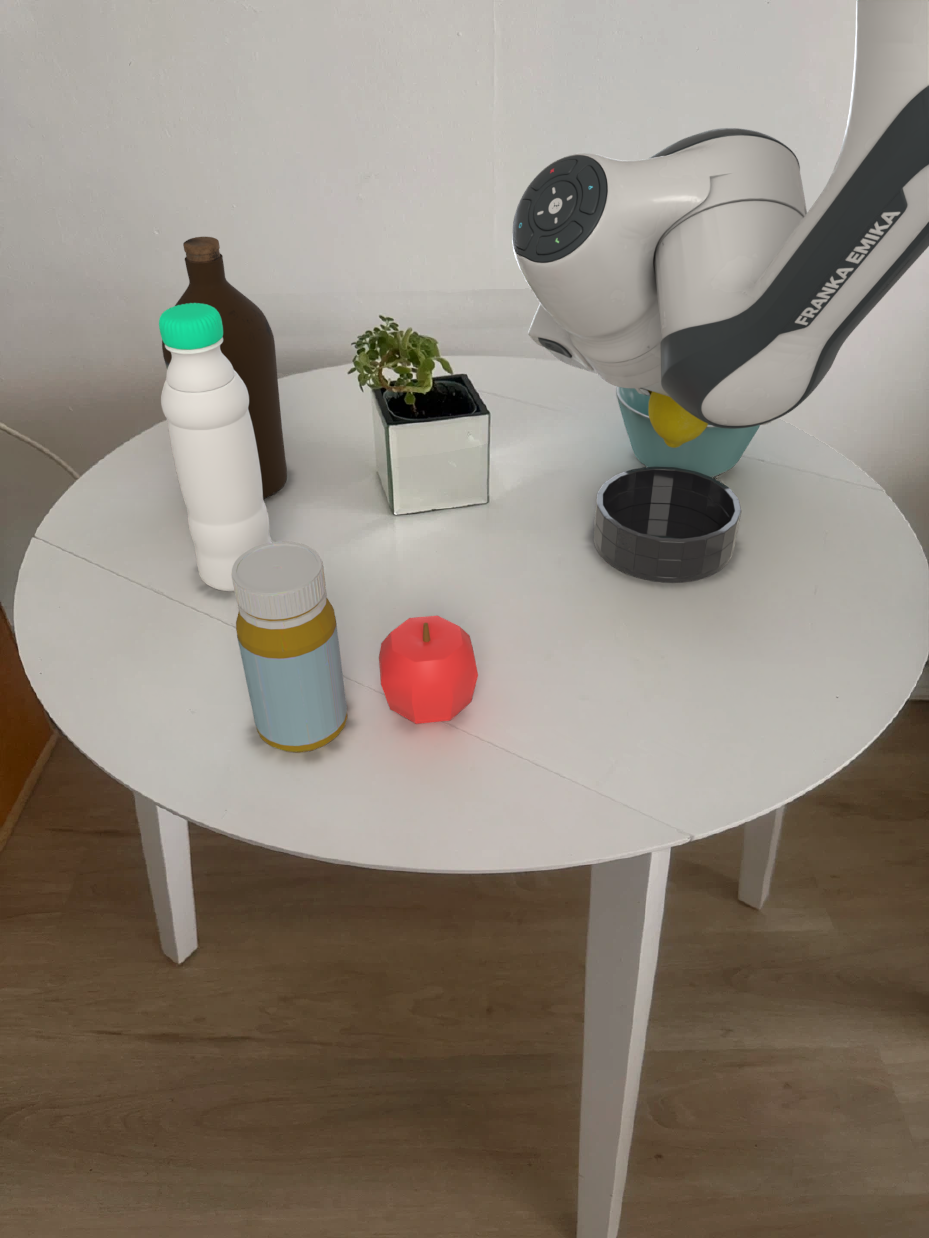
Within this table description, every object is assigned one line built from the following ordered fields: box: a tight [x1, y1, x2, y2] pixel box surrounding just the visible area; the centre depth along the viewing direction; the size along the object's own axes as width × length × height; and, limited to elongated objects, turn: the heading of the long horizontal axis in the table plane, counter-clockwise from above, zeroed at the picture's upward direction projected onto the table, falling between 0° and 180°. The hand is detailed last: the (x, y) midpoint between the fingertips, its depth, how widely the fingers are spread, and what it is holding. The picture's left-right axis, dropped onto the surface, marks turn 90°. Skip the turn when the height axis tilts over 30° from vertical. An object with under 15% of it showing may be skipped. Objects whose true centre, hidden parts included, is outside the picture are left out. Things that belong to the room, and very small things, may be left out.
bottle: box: [231, 540, 348, 754], centre depth 72 cm, size 7×7×15 cm
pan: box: [593, 466, 742, 584], centre depth 94 cm, size 13×13×4 cm
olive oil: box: [161, 236, 288, 500], centre depth 98 cm, size 11×11×25 cm
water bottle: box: [158, 303, 273, 592], centre depth 85 cm, size 7×7×25 cm
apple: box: [378, 614, 479, 725], centre depth 76 cm, size 8×8×8 cm
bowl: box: [615, 386, 761, 478], centre depth 105 cm, size 16×16×8 cm
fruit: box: [648, 391, 708, 448], centre depth 87 cm, size 6×6×8 cm
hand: (684, 398), depth 87 cm, fingers closed on fruit, 5 cm apart
